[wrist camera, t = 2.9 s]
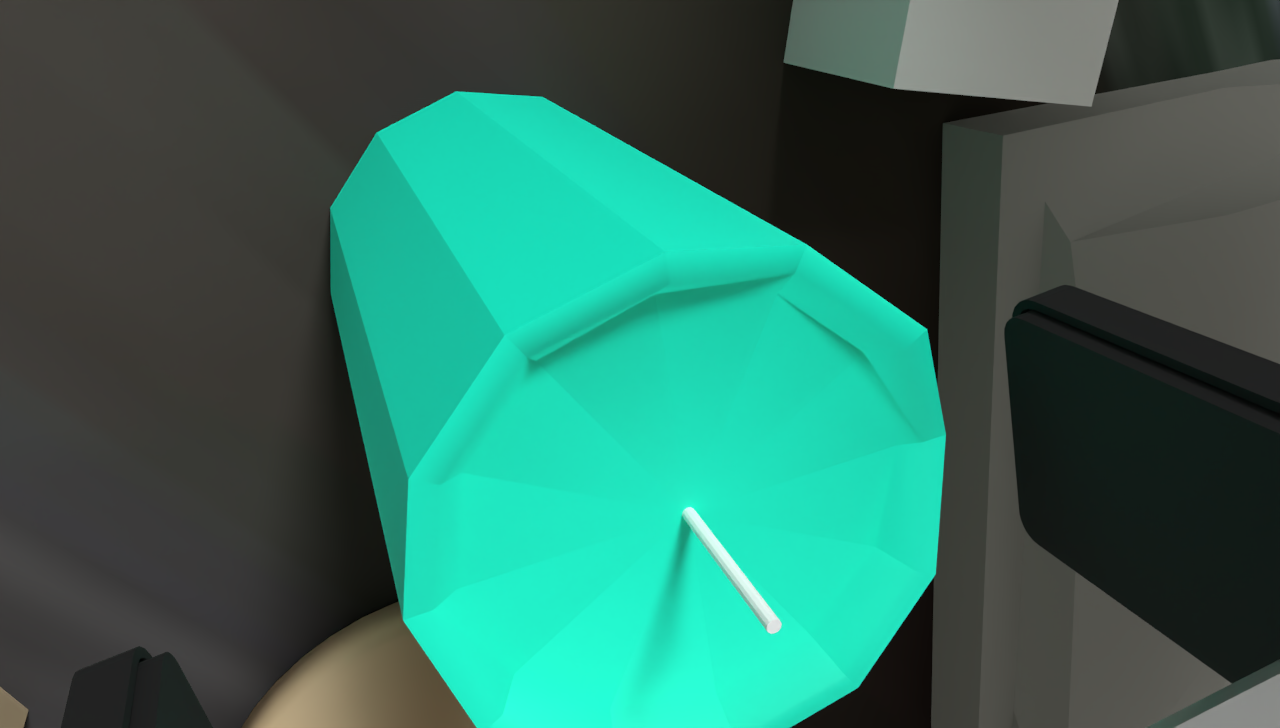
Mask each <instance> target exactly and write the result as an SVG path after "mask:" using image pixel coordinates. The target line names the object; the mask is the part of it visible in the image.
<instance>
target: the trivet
mask: <svg viewBox="0 0 1280 728" xmlns="http://www.w3.org/2000/svg"><path fill="white" fill-rule="evenodd" d="M242 728H476V726H475V725H474V723H473V722H472V720H471V719H470V717H469V716H468V714H467V713H466V712H465V710H464V709H463V707H462V706H461V704H460V703H459V701H458V700H457V698H456V697H455V696H454V694H453V693H452V691H451V690H450V688H449V687H448V685H447V684H446V682H445V681H444V679H443V678H442V677H441V675H440V674H439V672H438V671H437V669H436V668H435V666H434V665H433V663H432V662H431V661H430V659H429V658H428V656H427V655H426V653H425V652H424V650H423V649H422V647H421V646H420V644H419V643H418V642H417V640H416V639H415V637H414V636H413V634H412V633H411V631H410V630H409V628H408V627H407V626H406V624H405V623H404V621H403V618H402V614H401V609H400V605H399V601H398V602H395V603H393V604H391V605H389V606H387V607H384V608H382V609H380V610H378V611H376V612H373V613H371V614H369V615H367V616H364V617H362V618H361V619H359V620H357V621H355V622H354V623H352V624H350V625H349V626H347V627H345V628H344V629H342V630H340V631H338V632H337V633H335V634H333V635H332V636H330V637H329V638H327V639H326V640H325V641H323V642H322V643H321V644H319V645H318V646H317V647H315V648H314V649H313V650H311V651H310V652H309V653H307V654H306V655H305V656H303V657H302V658H301V659H300V660H299V661H298V662H297V663H295V664H294V665H293V666H292V667H291V668H290V669H289V670H288V671H287V672H286V673H285V674H284V675H283V676H282V677H280V678H279V679H278V680H277V681H276V682H275V684H274V685H273V686H272V687H271V688H270V689H269V691H268V692H267V693H266V694H265V695H264V697H263V698H262V699H261V700H260V701H259V703H258V704H257V705H256V706H255V707H254V709H253V710H252V712H251V714H250V715H249V717H248V718H247V720H246V721H245V723H244V724H243V726H242Z"/></svg>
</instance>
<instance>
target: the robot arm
mask: <svg viewBox="0 0 1280 728" xmlns="http://www.w3.org/2000/svg"><path fill="white" fill-rule="evenodd" d="M1004 339H1005V350H1006V362H1007V374H1008V386H1009V397H1010V409H1011V421H1012V433H1013V444H1014V456H1015V468H1016V479H1017V491H1018V503H1019V513H1020V518H1021V521H1022V524H1023V526H1024V528H1025V530H1026V532H1027V533H1028V535H1029V536H1030V537H1031V538H1032V540H1033V541H1034V542H1036V543H1037V544H1038V545H1039V546H1041V547H1042V548H1043V549H1045V550H1046V551H1048V552H1049V553H1050V554H1052V555H1053V556H1054V557H1056V558H1057V559H1059V560H1060V561H1061V562H1063V563H1064V564H1066V565H1067V566H1068V567H1070V568H1071V569H1073V570H1074V571H1075V572H1077V573H1078V574H1080V575H1081V576H1082V577H1084V578H1085V579H1087V580H1088V581H1089V582H1091V583H1092V584H1094V585H1095V586H1096V587H1098V588H1099V589H1101V590H1102V591H1103V592H1105V593H1106V594H1108V595H1109V596H1110V597H1112V598H1113V599H1115V600H1116V601H1117V602H1119V603H1120V604H1121V605H1123V606H1124V607H1126V608H1127V609H1128V610H1130V611H1131V612H1133V613H1134V614H1135V615H1137V616H1138V617H1140V618H1141V619H1142V620H1144V621H1145V622H1147V623H1148V624H1149V625H1151V626H1152V627H1154V628H1155V629H1156V630H1158V631H1159V632H1161V633H1162V634H1163V635H1165V636H1166V637H1168V638H1169V639H1170V640H1172V641H1173V642H1175V643H1176V644H1177V645H1179V646H1180V647H1182V648H1183V649H1184V650H1186V651H1187V652H1188V653H1190V654H1191V655H1193V656H1194V657H1195V658H1197V659H1198V660H1200V661H1201V662H1202V663H1204V664H1205V665H1207V666H1208V667H1209V668H1211V669H1212V670H1214V671H1215V672H1216V673H1218V674H1219V675H1221V676H1222V677H1223V678H1225V679H1226V680H1228V681H1229V682H1230V683H1232V684H1231V685H1229V686H1227V687H1225V688H1223V689H1221V690H1219V691H1217V692H1215V693H1213V694H1211V695H1209V696H1207V697H1205V698H1203V699H1201V700H1199V701H1197V702H1195V703H1193V704H1191V705H1190V706H1188V707H1186V708H1184V709H1182V710H1180V711H1178V712H1176V713H1174V714H1172V715H1170V716H1168V717H1166V718H1164V719H1162V720H1160V721H1158V722H1156V723H1154V724H1152V725H1150V726H1149V727H1147V728H1280V364H1278V363H1276V362H1273V361H1270V360H1268V359H1265V358H1262V357H1260V356H1257V355H1254V354H1252V353H1249V352H1246V351H1244V350H1241V349H1238V348H1236V347H1233V346H1230V345H1228V344H1225V343H1223V342H1220V341H1217V340H1215V339H1212V338H1209V337H1207V336H1204V335H1201V334H1199V333H1196V332H1193V331H1191V330H1188V329H1185V328H1183V327H1180V326H1177V325H1175V324H1172V323H1169V322H1167V321H1164V320H1161V319H1159V318H1156V317H1154V316H1151V315H1148V314H1146V313H1143V312H1140V311H1138V310H1135V309H1132V308H1130V307H1127V306H1124V305H1122V304H1119V303H1116V302H1114V301H1111V300H1108V299H1106V298H1103V297H1100V296H1098V295H1095V294H1093V293H1090V292H1087V291H1085V290H1082V289H1079V288H1077V287H1074V286H1070V285H1062V286H1058V287H1056V288H1053V289H1051V290H1048V291H1045V292H1043V293H1040V294H1038V295H1035V296H1033V297H1030V298H1028V299H1025V300H1022V301H1020V302H1019V303H1018V304H1017V305H1016V306H1015V308H1014V310H1013V313H1012V318H1011V319H1009V320H1008V321H1007V322H1006V325H1005V328H1004ZM61 728H213V727H212V725H211V723H210V722H209V720H208V718H207V716H206V714H205V712H204V710H203V709H202V707H201V705H200V703H199V701H198V699H197V697H196V696H195V694H194V692H193V690H192V688H191V686H190V684H189V683H188V681H187V679H186V677H185V675H184V673H183V672H182V670H181V668H180V666H179V664H178V663H177V661H176V659H175V658H174V657H173V656H172V655H171V654H170V653H168V652H165V653H163V654H160V655H158V656H155V657H153V658H152V656H151V655H150V654H149V653H148V652H147V651H146V650H145V649H144V648H142V647H140V646H139V647H136V648H134V649H131V650H129V651H126V652H124V653H121V654H118V655H116V656H113V657H111V658H108V659H106V660H103V661H101V662H98V663H95V664H93V665H90V666H88V667H85V668H83V669H80V670H78V671H77V672H75V674H74V677H73V679H72V683H71V687H70V691H69V696H68V700H67V704H66V709H65V713H64V717H63V721H62V726H61Z"/></svg>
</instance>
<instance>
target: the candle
mask: <svg viewBox="0 0 1280 728" xmlns="http://www.w3.org/2000/svg"><path fill="white" fill-rule="evenodd" d="M330 274H331V297H332V302H333V306H334V311H335V315H336V320H337V324H338V329H339V333H340V338H341V342H342V347H343V351H344V356H345V360H346V365H347V370H348V374H349V379H350V383H351V388H352V392H353V397H354V401H355V406H356V410H357V415H358V419H359V424H360V428H361V433H362V437H363V442H364V446H365V451H366V456H367V460H368V465H369V469H370V474H371V478H372V483H373V487H374V492H375V496H376V501H377V505H378V510H379V514H380V519H381V523H382V528H383V532H384V537H385V542H386V546H387V551H388V555H389V560H390V564H391V569H392V573H393V578H394V582H395V587H396V591H397V596H398V600H399V605H400V609H401V614H402V618H403V621H404V623H405V624H406V626H407V627H408V628H409V630H410V631H411V633H412V634H413V636H414V637H415V639H416V640H417V642H418V643H419V644H420V646H421V647H422V649H423V650H424V652H425V653H426V655H427V656H428V658H429V659H430V661H431V662H432V663H433V665H434V666H435V668H436V669H437V671H438V672H439V674H440V675H441V677H442V678H443V679H444V681H445V682H446V684H447V685H448V687H449V688H450V690H451V691H452V693H453V694H454V696H455V697H456V698H457V700H458V701H459V703H460V704H461V706H462V707H463V709H464V710H465V712H466V713H467V714H468V716H469V717H470V719H471V720H472V722H473V723H474V725H475V726H476V728H790V727H792V726H794V725H796V724H797V723H799V722H801V721H802V720H804V719H806V718H807V717H809V716H811V715H813V714H814V713H816V712H818V711H819V710H821V709H823V708H825V707H826V706H828V705H830V704H831V703H833V702H835V701H837V700H838V699H840V698H842V697H843V696H845V695H847V694H848V693H850V692H852V691H854V690H855V689H857V688H858V687H859V686H860V684H861V683H862V681H863V680H864V678H865V677H866V675H867V674H868V673H869V671H870V670H871V668H872V667H873V665H874V664H875V662H876V661H877V659H878V658H879V657H880V655H881V654H882V652H883V651H884V649H885V648H886V646H887V645H888V643H889V642H890V640H891V639H892V638H893V636H894V635H895V633H896V632H897V630H898V629H899V627H900V626H901V624H902V623H903V621H904V620H905V619H906V617H907V616H908V614H909V613H910V611H911V610H912V608H913V607H914V605H915V604H916V602H917V601H918V600H919V598H920V597H921V595H922V594H923V592H924V591H925V589H926V588H927V586H928V585H929V583H930V582H931V581H932V579H933V578H934V576H935V575H936V564H937V550H938V537H939V523H940V510H941V496H942V482H943V469H944V455H945V442H946V432H945V426H944V421H943V415H942V409H941V404H940V398H939V393H938V387H937V381H936V376H935V370H934V365H933V359H932V353H931V348H930V342H929V337H928V331H927V329H926V328H925V327H923V326H922V325H920V324H919V323H917V322H916V321H915V320H913V319H912V318H910V317H909V316H908V315H906V314H905V313H903V312H902V311H900V310H899V309H898V308H896V307H895V306H893V305H892V304H891V303H889V302H888V301H886V300H885V299H883V298H882V297H881V296H879V295H878V294H876V293H875V292H873V291H872V290H871V289H869V288H868V287H866V286H865V285H864V284H862V283H861V282H859V281H858V280H856V279H855V278H854V277H852V276H851V275H849V274H848V273H847V272H845V271H844V270H842V269H841V268H839V267H838V266H837V265H835V264H834V263H832V262H831V261H829V260H828V259H827V258H825V257H824V256H822V255H821V254H820V253H818V252H817V251H815V250H814V249H812V248H811V247H810V246H808V245H807V244H805V243H803V242H801V241H800V240H798V239H796V238H794V237H792V236H791V235H789V234H787V233H785V232H783V231H782V230H780V229H778V228H776V227H775V226H773V225H771V224H769V223H767V222H766V221H764V220H762V219H760V218H758V217H757V216H755V215H753V214H751V213H749V212H748V211H746V210H744V209H742V208H741V207H739V206H737V205H735V204H733V203H732V202H730V201H728V200H726V199H724V198H723V197H721V196H719V195H717V194H715V193H714V192H712V191H710V190H708V189H707V188H705V187H703V186H701V185H699V184H698V183H696V182H694V181H692V180H690V179H689V178H687V177H685V176H683V175H682V174H680V173H678V172H676V171H674V170H673V169H671V168H669V167H667V166H665V165H664V164H662V163H660V162H658V161H656V160H655V159H653V158H651V157H649V156H648V155H646V154H644V153H642V152H640V151H639V150H637V149H635V148H633V147H631V146H630V145H628V144H626V143H624V142H622V141H621V140H619V139H617V138H615V137H614V136H612V135H610V134H608V133H606V132H605V131H603V130H601V129H599V128H597V127H596V126H594V125H592V124H590V123H588V122H587V121H585V120H583V119H581V118H580V117H578V116H576V115H574V114H572V113H571V112H569V111H567V110H565V109H563V108H562V107H560V106H558V105H556V104H554V103H553V102H551V101H549V100H547V99H546V98H544V97H537V96H521V95H505V94H489V93H473V92H457V91H456V92H454V93H452V94H450V95H448V96H446V97H444V98H443V99H441V100H439V101H437V102H435V103H433V104H431V105H429V106H427V107H425V108H423V109H421V110H419V111H417V112H415V113H414V114H412V115H410V116H408V117H406V118H404V119H402V120H400V121H398V122H396V123H394V124H392V125H390V126H388V127H386V128H385V129H383V130H381V131H379V132H377V133H376V134H375V136H374V138H373V139H372V141H371V143H370V144H369V146H368V147H367V149H366V151H365V152H364V154H363V156H362V157H361V159H360V160H359V162H358V164H357V165H356V167H355V169H354V170H353V172H352V173H351V175H350V177H349V178H348V180H347V182H346V183H345V185H344V186H343V188H342V190H341V191H340V193H339V195H338V196H337V198H336V199H335V201H334V203H333V204H332V206H331V208H330Z"/></svg>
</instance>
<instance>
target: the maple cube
mask: <svg viewBox="0 0 1280 728" xmlns="http://www.w3.org/2000/svg"><path fill="white" fill-rule="evenodd" d="M27 713H28V709H27V708H25V707H24V706H23V705H22V704H21V703H19V702H18V701H17V700H16V699H14V698H13V697H12V696H11V695H10V694H8V693H7V692H6V691H5V690H3V689H2V688H1V687H0V728H23V727H24V724H25V720H26V717H27Z"/></svg>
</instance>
